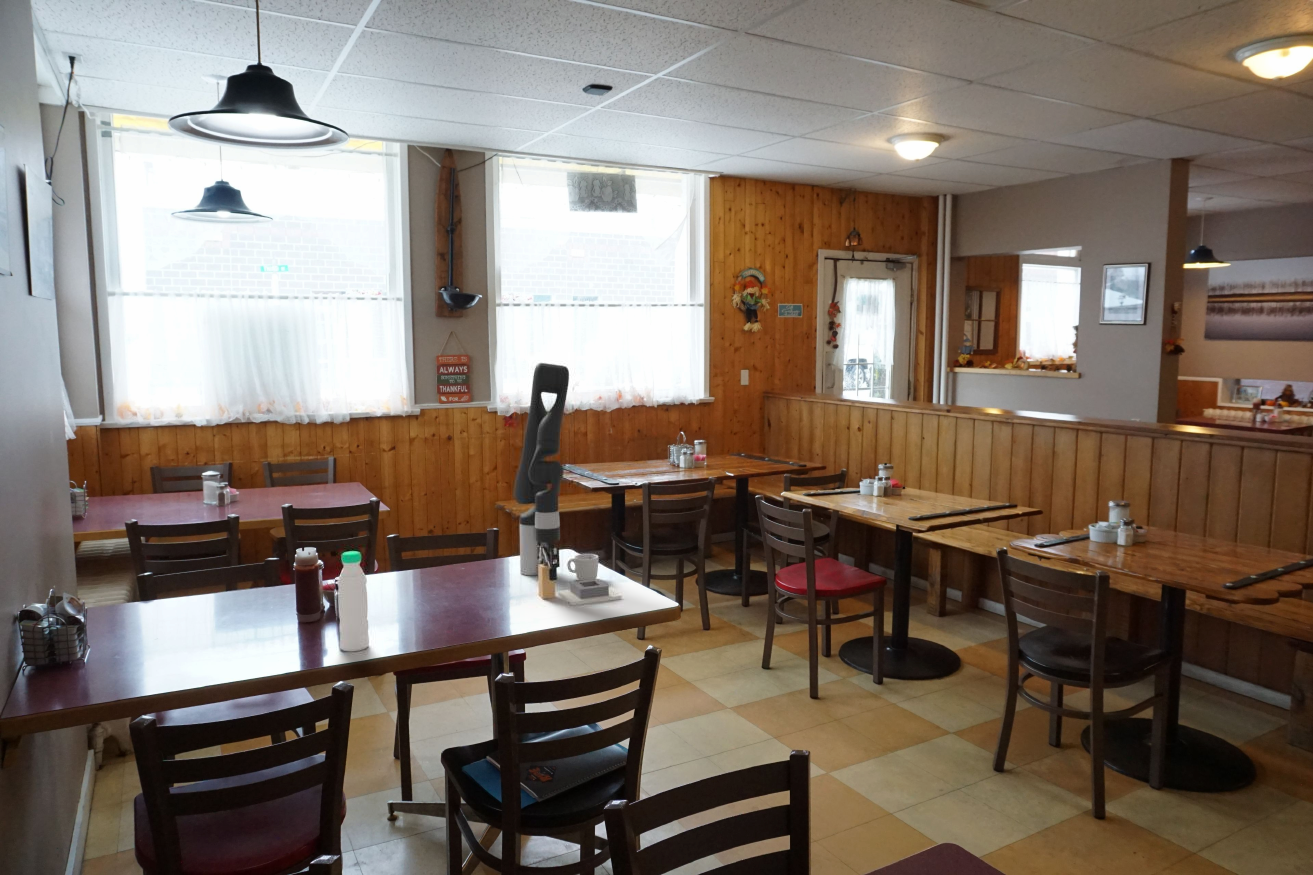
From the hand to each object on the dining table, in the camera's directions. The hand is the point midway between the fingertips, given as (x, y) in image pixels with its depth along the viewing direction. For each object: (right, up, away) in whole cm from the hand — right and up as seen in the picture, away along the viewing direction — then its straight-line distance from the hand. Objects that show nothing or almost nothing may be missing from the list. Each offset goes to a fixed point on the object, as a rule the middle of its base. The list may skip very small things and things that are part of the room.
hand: (548, 577), depth 268 cm
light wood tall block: (-1, -6, +1) cm, 6 cm away
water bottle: (-44, -11, -45) cm, 64 cm away
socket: (+13, -6, +1) cm, 14 cm away
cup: (+9, -4, +21) cm, 23 cm away
